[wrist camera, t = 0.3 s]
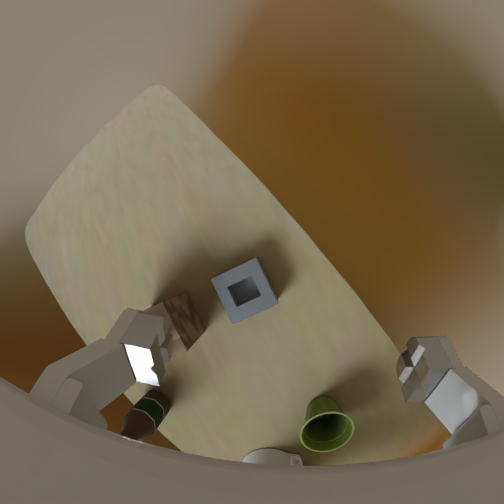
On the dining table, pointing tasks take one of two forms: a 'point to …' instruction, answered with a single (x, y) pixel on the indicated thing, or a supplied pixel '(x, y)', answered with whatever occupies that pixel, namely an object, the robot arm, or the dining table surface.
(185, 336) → the wood block with hole
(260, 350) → the dining table surface
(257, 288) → the low socket
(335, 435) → the plant pot
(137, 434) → the beer bottle
